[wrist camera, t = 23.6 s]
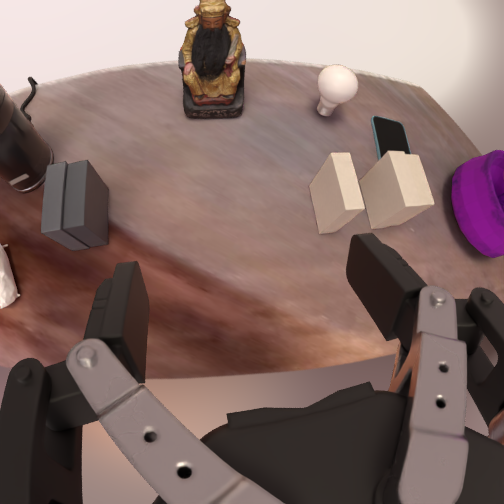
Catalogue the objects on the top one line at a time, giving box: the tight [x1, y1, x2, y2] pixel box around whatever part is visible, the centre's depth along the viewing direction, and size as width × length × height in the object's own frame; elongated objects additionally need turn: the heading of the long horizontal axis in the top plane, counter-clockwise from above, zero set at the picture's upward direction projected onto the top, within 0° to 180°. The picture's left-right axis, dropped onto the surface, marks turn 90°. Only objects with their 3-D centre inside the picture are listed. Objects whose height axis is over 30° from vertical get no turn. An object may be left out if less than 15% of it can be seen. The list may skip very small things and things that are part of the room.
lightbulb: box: [317, 65, 358, 116], centre depth 43 cm, size 6×6×11 cm
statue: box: [179, 0, 246, 119], centre depth 37 cm, size 12×8×20 cm, turn 88°
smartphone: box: [371, 116, 411, 161], centre depth 49 cm, size 7×1×15 cm
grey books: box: [41, 160, 108, 251], centre depth 36 cm, size 6×9×10 cm, turn 8°
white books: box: [359, 151, 434, 229], centre depth 41 cm, size 6×8×10 cm
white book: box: [309, 153, 365, 234], centre depth 40 cm, size 3×8×10 cm, turn 8°
